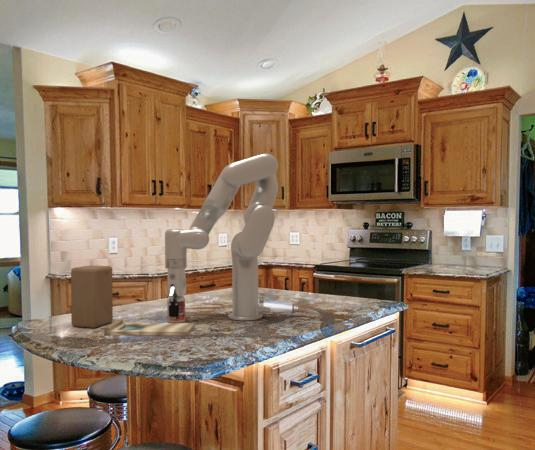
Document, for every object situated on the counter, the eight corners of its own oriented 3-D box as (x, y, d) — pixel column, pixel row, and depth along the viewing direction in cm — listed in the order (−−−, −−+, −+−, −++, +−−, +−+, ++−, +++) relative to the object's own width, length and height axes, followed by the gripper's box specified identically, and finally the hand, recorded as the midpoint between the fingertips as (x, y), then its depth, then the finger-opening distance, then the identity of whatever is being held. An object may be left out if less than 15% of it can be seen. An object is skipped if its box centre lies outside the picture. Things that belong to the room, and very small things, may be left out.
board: (194, 326, 153) (194, 319, 153) (187, 335, 141) (187, 327, 141) (118, 326, 154) (117, 319, 154) (104, 335, 142) (104, 327, 142)
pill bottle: (187, 321, 161) (187, 289, 161) (171, 324, 157) (171, 291, 157) (181, 318, 166) (180, 287, 166) (164, 321, 163) (164, 289, 163)
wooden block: (113, 322, 161) (113, 265, 161) (94, 328, 151) (94, 268, 151) (90, 320, 164) (90, 265, 164) (70, 326, 154) (69, 267, 154)
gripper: (181, 266, 153) (181, 319, 153) (191, 261, 170) (191, 309, 170) (158, 266, 153) (159, 319, 153) (171, 261, 170) (171, 309, 170)
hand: (176, 314), depth 162 cm, fingers closed on pill bottle, 6 cm apart
